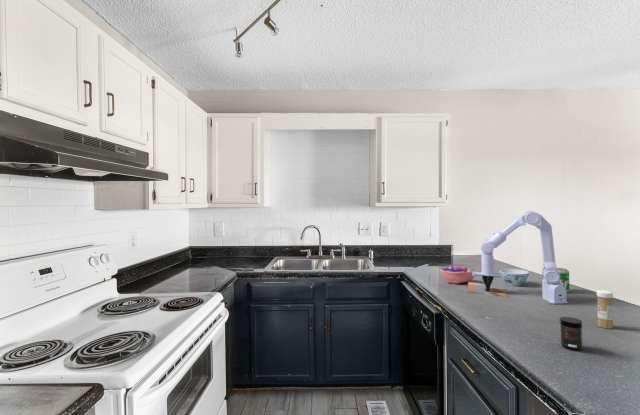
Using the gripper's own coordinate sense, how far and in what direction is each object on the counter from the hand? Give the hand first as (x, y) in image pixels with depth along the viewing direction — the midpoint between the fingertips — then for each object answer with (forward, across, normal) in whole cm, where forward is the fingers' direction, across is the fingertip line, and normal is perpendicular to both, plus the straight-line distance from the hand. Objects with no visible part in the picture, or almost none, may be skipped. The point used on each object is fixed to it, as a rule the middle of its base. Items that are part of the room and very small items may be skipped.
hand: (488, 290), depth 166 cm
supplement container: (+2, -26, +57) cm, 63 cm away
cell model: (+2, +17, -17) cm, 24 cm away
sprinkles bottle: (+2, -40, +31) cm, 51 cm away
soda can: (+2, -33, -20) cm, 39 cm away
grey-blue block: (+1, +3, 0) cm, 4 cm away
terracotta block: (+1, +7, 0) cm, 7 cm away
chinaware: (+2, -12, -27) cm, 30 cm away
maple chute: (+2, +1, 0) cm, 2 cm away
